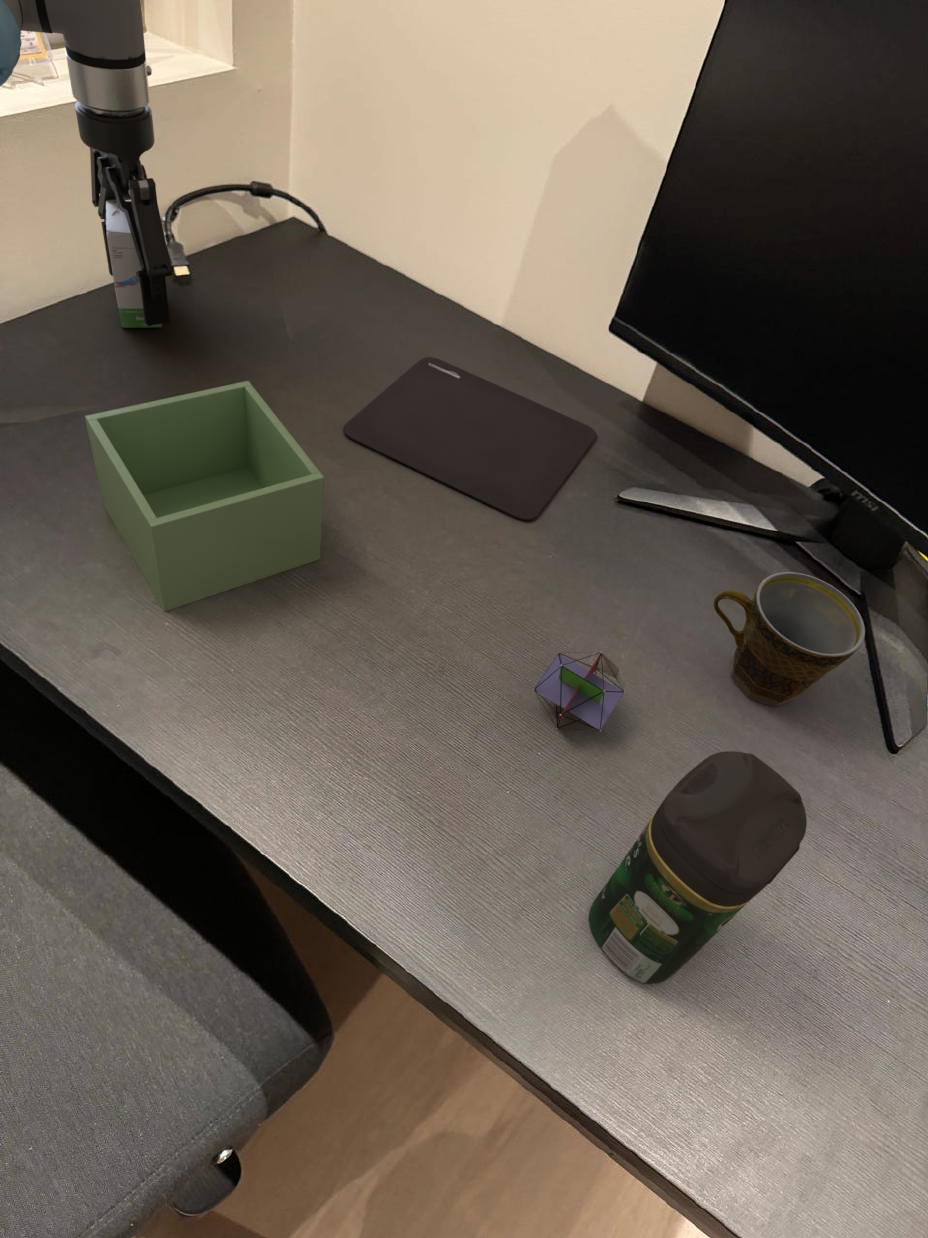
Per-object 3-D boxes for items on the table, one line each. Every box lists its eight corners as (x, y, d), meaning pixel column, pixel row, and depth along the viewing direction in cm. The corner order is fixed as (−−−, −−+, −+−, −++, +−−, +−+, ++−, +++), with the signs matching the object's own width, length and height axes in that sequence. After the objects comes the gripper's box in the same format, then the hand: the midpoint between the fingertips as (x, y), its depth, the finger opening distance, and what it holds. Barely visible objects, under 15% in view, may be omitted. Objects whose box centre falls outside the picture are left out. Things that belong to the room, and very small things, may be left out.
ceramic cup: (812, 658, 85) (863, 592, 78) (811, 735, 79) (867, 671, 71) (689, 617, 86) (728, 548, 79) (678, 690, 80) (719, 622, 72)
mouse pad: (600, 432, 104) (600, 430, 104) (531, 525, 91) (531, 524, 91) (427, 354, 109) (427, 353, 109) (336, 432, 96) (337, 430, 96)
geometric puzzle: (582, 759, 70) (630, 678, 68) (513, 716, 72) (558, 635, 70) (597, 741, 77) (641, 667, 75) (533, 702, 79) (575, 628, 77)
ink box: (163, 328, 104) (152, 234, 95) (120, 328, 102) (105, 232, 93) (159, 292, 109) (149, 199, 100) (118, 291, 107) (104, 197, 98)
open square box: (102, 503, 83) (84, 415, 75) (250, 464, 90) (248, 380, 82) (164, 611, 76) (151, 526, 68) (320, 559, 83) (324, 476, 75)
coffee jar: (643, 846, 68) (737, 718, 54) (721, 921, 65) (841, 805, 51) (565, 923, 63) (647, 802, 49) (646, 1008, 60) (758, 905, 46)
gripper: (193, 147, 84) (207, 342, 100) (109, 59, 95) (133, 247, 112) (117, 153, 81) (144, 354, 97) (39, 60, 92) (75, 254, 108)
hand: (138, 297), depth 104 cm, fingers open, 11 cm apart
